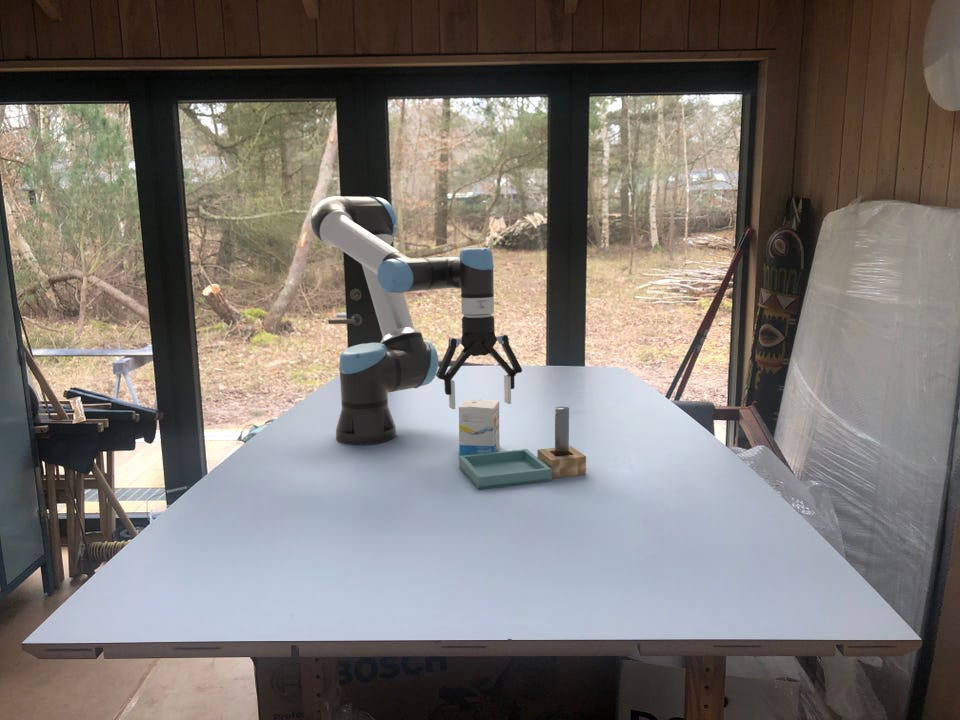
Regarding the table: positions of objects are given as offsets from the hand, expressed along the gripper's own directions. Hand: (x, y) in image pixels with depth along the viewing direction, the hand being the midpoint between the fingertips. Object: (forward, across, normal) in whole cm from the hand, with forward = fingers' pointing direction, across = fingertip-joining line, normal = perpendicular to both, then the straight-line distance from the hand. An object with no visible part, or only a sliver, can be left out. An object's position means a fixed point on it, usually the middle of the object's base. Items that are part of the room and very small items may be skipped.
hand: (480, 405), depth 178 cm
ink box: (+11, 0, 0) cm, 11 cm away
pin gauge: (+12, +12, -20) cm, 26 cm away
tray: (+11, 0, -18) cm, 21 cm away
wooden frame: (+12, +12, -20) cm, 26 cm away
